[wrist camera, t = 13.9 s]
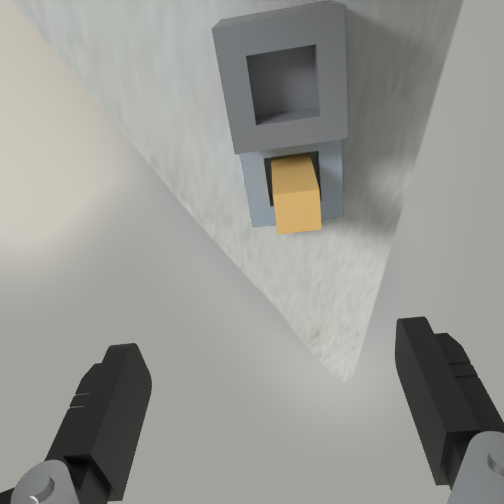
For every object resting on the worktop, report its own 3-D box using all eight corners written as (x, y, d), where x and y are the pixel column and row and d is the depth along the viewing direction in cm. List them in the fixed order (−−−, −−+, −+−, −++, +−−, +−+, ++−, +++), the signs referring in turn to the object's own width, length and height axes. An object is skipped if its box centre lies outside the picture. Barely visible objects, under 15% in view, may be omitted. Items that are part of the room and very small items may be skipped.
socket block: (220, 19, 37) (211, 28, 31) (330, 0, 36) (345, 5, 30) (253, 210, 48) (252, 247, 42) (338, 199, 47) (350, 235, 41)
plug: (270, 153, 43) (272, 195, 35) (308, 148, 43) (319, 189, 35) (275, 194, 46) (278, 241, 38) (311, 190, 46) (322, 236, 37)
